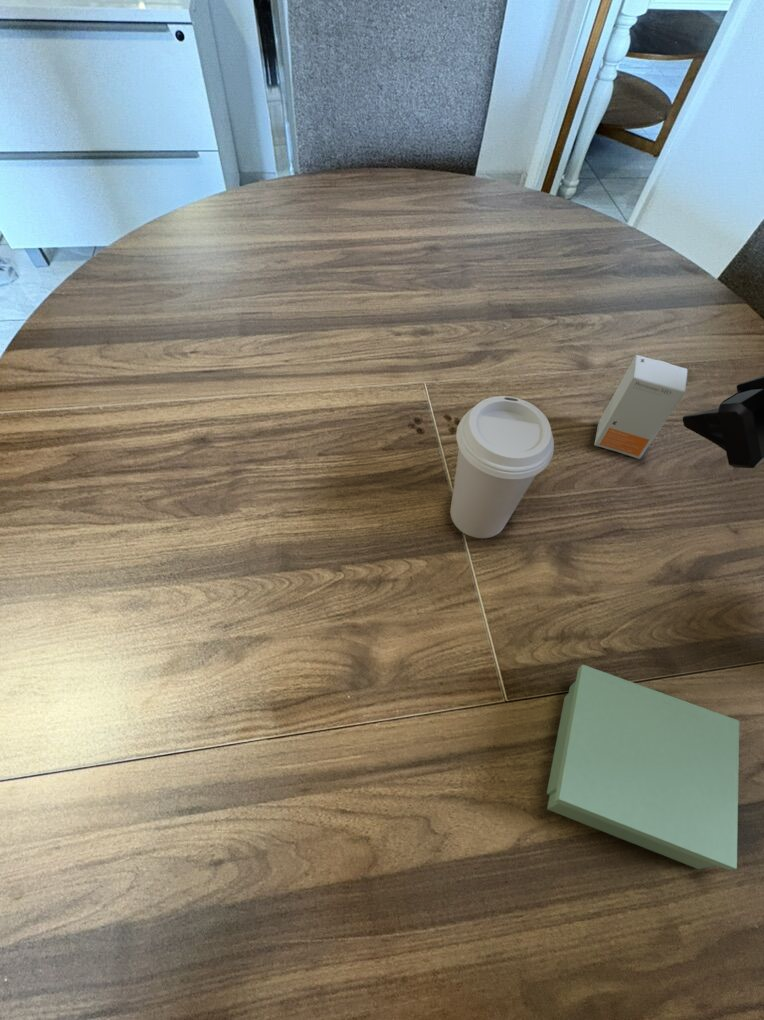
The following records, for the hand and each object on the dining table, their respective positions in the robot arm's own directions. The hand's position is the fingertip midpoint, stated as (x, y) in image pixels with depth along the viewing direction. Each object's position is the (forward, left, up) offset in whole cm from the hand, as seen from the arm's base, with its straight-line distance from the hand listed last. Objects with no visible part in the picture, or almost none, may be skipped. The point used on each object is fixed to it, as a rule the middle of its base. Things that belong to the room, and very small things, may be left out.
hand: (711, 404), depth 65 cm
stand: (-1, +36, -13) cm, 38 cm away
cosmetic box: (+5, -4, -13) cm, 15 cm away
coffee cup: (+19, +14, -13) cm, 27 cm away
